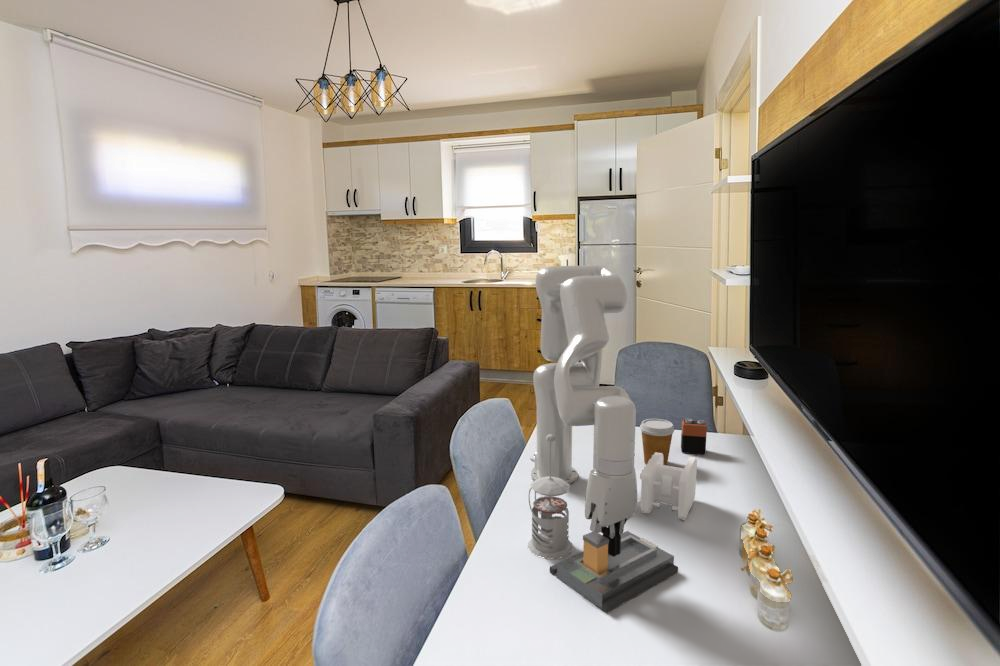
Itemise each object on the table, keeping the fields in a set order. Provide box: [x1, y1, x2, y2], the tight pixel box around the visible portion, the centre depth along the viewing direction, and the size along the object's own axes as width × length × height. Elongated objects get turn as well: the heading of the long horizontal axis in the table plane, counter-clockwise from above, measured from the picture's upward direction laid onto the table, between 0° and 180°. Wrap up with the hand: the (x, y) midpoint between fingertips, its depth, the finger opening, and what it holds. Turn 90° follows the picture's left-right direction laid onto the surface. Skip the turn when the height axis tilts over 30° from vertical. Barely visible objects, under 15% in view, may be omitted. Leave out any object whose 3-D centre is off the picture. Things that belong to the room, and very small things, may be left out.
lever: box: [582, 531, 609, 574], centre depth 108 cm, size 4×3×6 cm
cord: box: [549, 563, 557, 576], centre depth 118 cm, size 1×20×1 cm, turn 126°
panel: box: [556, 530, 675, 611], centre depth 112 cm, size 12×20×4 cm, turn 126°
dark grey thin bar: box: [601, 564, 679, 614], centre depth 107 cm, size 1×20×1 cm, turn 126°
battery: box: [680, 417, 708, 455], centre depth 172 cm, size 4×7×10 cm, turn 77°
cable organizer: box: [639, 452, 698, 521], centre depth 137 cm, size 15×11×12 cm
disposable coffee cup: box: [639, 418, 676, 466], centre depth 163 cm, size 10×10×12 cm
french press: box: [527, 434, 574, 560], centre depth 121 cm, size 10×12×25 cm
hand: (611, 552), depth 110 cm, fingers closed
